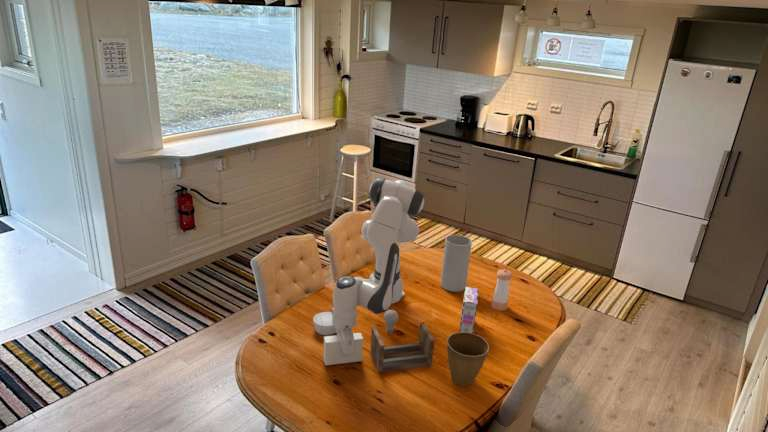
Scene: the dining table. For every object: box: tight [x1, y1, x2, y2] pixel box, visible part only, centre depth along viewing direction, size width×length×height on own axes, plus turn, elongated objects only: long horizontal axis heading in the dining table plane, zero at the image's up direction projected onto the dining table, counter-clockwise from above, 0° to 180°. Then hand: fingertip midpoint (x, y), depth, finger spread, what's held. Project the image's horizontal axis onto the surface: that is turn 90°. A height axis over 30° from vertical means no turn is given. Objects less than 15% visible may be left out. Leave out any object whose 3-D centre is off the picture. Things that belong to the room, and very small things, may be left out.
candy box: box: [458, 286, 479, 334], centre depth 227 cm, size 14×6×16 cm, turn 168°
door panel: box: [322, 332, 364, 366], centre depth 200 cm, size 4×14×10 cm, turn 106°
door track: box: [369, 321, 436, 374], centre depth 203 cm, size 12×21×12 cm, turn 106°
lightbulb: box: [383, 309, 399, 335], centre depth 220 cm, size 6×6×11 cm
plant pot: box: [446, 332, 490, 387], centre depth 194 cm, size 15×15×16 cm
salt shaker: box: [491, 268, 513, 311], centre depth 245 cm, size 7×7×19 cm
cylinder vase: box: [440, 234, 473, 293], centre depth 260 cm, size 12×12×25 cm
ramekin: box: [312, 311, 337, 336], centre depth 221 cm, size 11×11×5 cm
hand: (343, 350), depth 201 cm, fingers closed on door panel, 4 cm apart
